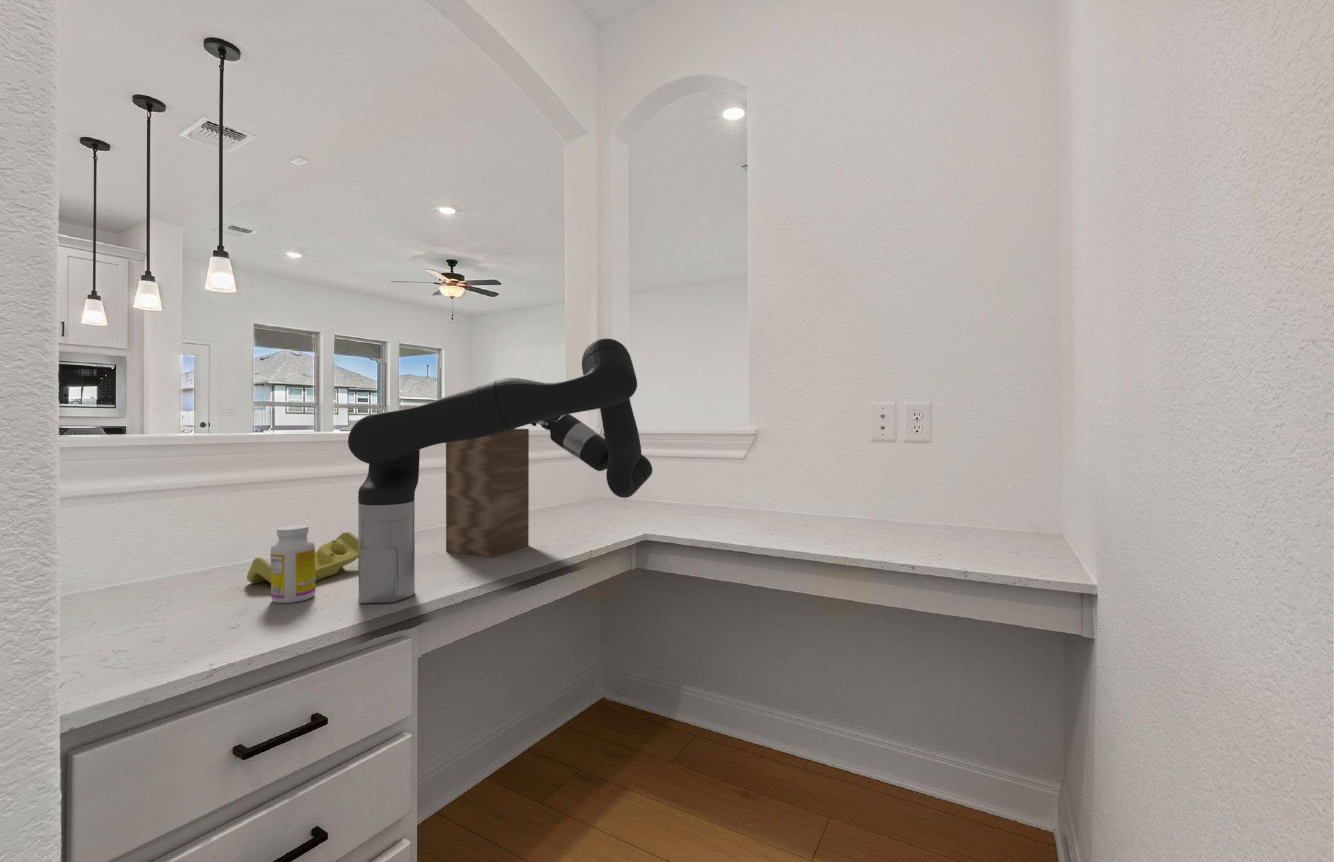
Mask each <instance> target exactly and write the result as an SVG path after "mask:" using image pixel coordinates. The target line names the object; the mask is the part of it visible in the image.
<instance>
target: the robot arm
mask: <svg viewBox="0 0 1334 862" xmlns="http://www.w3.org/2000/svg"><path fill="white" fill-rule="evenodd" d="M631 357H632V356H631V354H630V353H629V351H628V350H627V348H626V346H625V345H623V343H621V342H620V341H619V340H616V339H612V338H600V339H597V340H595V341H592V342H591V343H590V344H589V345H588V346H587V347H586V348H585V350H584V352H583V355H582V358H581V369H582V375H581V376H579V377H576V378H571V379H568V380H564V381H558V382H542V381H536V380H530V379H526V378H518V377H506V378H501V379H497V380H493V381H489V382H486V383H483V384H479V385H476V386H472V387H469V388H467V389H464V390H460V391H458V392H455V393H454V392H453V393H451V394H448V395H446V396H443V397H442V398H438V399H436V400H433V401H431V402H428V403H425V404H420V405H417V406H413V407H409V408H408V407H407V408H403V409H398V410H392V411H386V412H379V413H377V412H376V413H371V414H368V415H366V416H364V417H362V418H361V419H359V420H358V421H357V422H356V423H355V424H353V426H352V428H351V429H350V431H349V434H348V438H347V444H348V445H347V446H348V449H349V450H350V452H351V454H352V455H353V456H354V457H355V458H356V459H357V460H359V461H361V462H363V463H366V464H367V465H368V471H367V472H368V473H367V476H366V477H365V480H364V481H363V483H362V484H361V485H360V487H359V489H358V494H357V495H358V496H357V502H358V505H357V506H358V508H357V509H358V510H357V512H358V519H357V523H358V524H357V528H358V533H357V534H358V535H357V536H358V537H357V538H358V558H357V559H358V561H357V562H358V568H357V569H358V573H357V575H358V577H357V578H358V601H359V604H379V603H380V604H382V603H383V604H384V603H397V602H398V601H400V600H403V599H407V598H409V597H411V596H413V595H414V594H415V592H416V591H415V590H416V585H415V583H416V581H415V579H416V578H415V577H416V575H415V574H416V572H415V571H416V570H415V569H416V568H415V567H416V566H415V564H416V563H415V557H416V556H415V547H416V546H415V540H416V539H415V497H416V495H415V494H416V489H417V487H418V484H419V477H420V456H421V455H420V452H421V450H422V449H425V448H429V447H431V446H436V445H440V444H446V443H447V442H455V441H462V440H469V439H475V438H480V437H485V436H490V435H494V434H498V433H501V432H505V431H508V430H512V429H519V428H521V427H525V426H527V425H531V426H533V427H537V425H539V426H541V428H542V429H544V430H546V431H549V432H550V433H549V436H550V440H551V441H552V442H553V443H554V444H556V445H557V446H558V447H560V448H562V449H563V450H564V451H566V452H567V453H568V454H570V455H572V456H573V457H575V458H577V459H579V460H581V462H584V463H585V464H586V465H588V466H589V467H590V468H591V469H593V470H595V471H597V472H603V471H606V476H605V477H606V482H607V485H608V488H609V489H610V491H611V492H612V494H614V495H615V496H616V497H617V498H618V497H619V498H623V499H626V498H627V499H628V498H630V497H632V496H633V495H634V494H635V493H636V492H637V491H638V490H639V489H640V488H641V487H642V486H643V484H645V482H647V480H649V479H650V478H651V476H652V474H653V466H652V463H651V462H650V460H649V459H648V458H647V457H646V456H645V455H643V454H642V447H641V441H640V436H639V430H638V425H637V422H636V418H635V414H634V411H633V410H634V409H633V407H632V403H631V397H632V396H633V395H634V394H635V393H636V391H637V388H638V381H637V375H636V372H635V368H634V364H633V360H632V358H631ZM595 410H599V411H600V416H601V424H602V430H603V435H604V436H601V435H599V434H598V433H597V432H596V431H595V430H594V429H592V428H591V427H589V426H588V425H586V424H585V423H583V421H581V420H579V418H576V417H575V416H574V415H573V414H577V413H581V412H588V411H595Z"/></svg>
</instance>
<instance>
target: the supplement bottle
mask: <svg viewBox="0 0 1334 862" xmlns="http://www.w3.org/2000/svg"><path fill="white" fill-rule="evenodd" d="M308 533H309V526H308V525H304V524H303V525H302V524H297V525H295V524H294V525H286V526H281V527H277V529H276V536H277V537H278V541H277V542H275V543H274V544H272V545H271V547H270V565H271V583H270V585H271V586H270V590H271V591H270V595H271V600H272V601H273V602H274V603H276V604H293V603H298V602H299V603H300V602H302V601H303V602H304V601H307V600H309V599H311V598H313V597H314V596H315V595H316V581H315V552H316V546H315V542H314V541H313V540H311V539H309V538H308Z"/></svg>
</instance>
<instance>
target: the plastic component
mask: <svg viewBox="0 0 1334 862" xmlns="http://www.w3.org/2000/svg"><path fill="white" fill-rule="evenodd" d="M357 559H358V537H357V536H356V535H355V534H352V533H351V532H350V531H346V532H342V533H341V534H340V535H338V537H337V538H336V539H333V540H331V541H328V542H326V543H324V544H321V545H320V546H319V547H318V549H317V551H315V582H316V581H319V580H321V579H325V578H328V577H330V576H333V575H336V574H337V573H338V572H339V570H343V568H344V566H347V565H349V564H351V563H353V562H355V561H357ZM246 579H247V581H248V582H249V583H251V584H253V585H254V584H255V583H256V584H260V583H263V582H269V583H270V584H271V563H269V562H268V561H267V560H265V559H264V558H262V557H260V556H259V557H256V558H254V559H253V561H252V563H251V566H250V568H249V570H248V573H247V575H246Z"/></svg>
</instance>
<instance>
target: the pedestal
mask: <svg viewBox="0 0 1334 862" xmlns="http://www.w3.org/2000/svg"><path fill="white" fill-rule="evenodd" d="M529 435H530V431H529V428H515V429H512V430H508V431H505V432H501V433H498V434H494V435H490V436H485V437H480V438H475V439H469V440H462V441H455V442H447V443H445V548H446V549H445V551H446V553H447V552H448V553H454V554H463V555H470V556H479V557H486V556H487V557H488V558H494V557H497V556H500V555H503V554H506V553H509V552H508V551H510V552H513V551H515V549H516V550H518V549H522V548H525V547H528V546H527V545H529V534H530V533H529V529H530V528H529V521H530V520H529V517H530V516H529V511H530V510H529V508H530V506H529V505H530V504H529V502H530V501H529V499H530V498H529V497H530V496H529V495H530V491H529V488H530V486H529V481H530V480H529V479H530V478H529V477H530V476H529V472H530V471H529V469H530V468H529V467H530V464H529V460H530V456H529V451H530V450H529V449H530V448H529V446H530V445H529V444H530V443H529V442H530V441H529V439H530V438H529ZM521 547H522V548H521ZM493 556H494V557H493ZM487 557H486V558H487Z"/></svg>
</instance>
